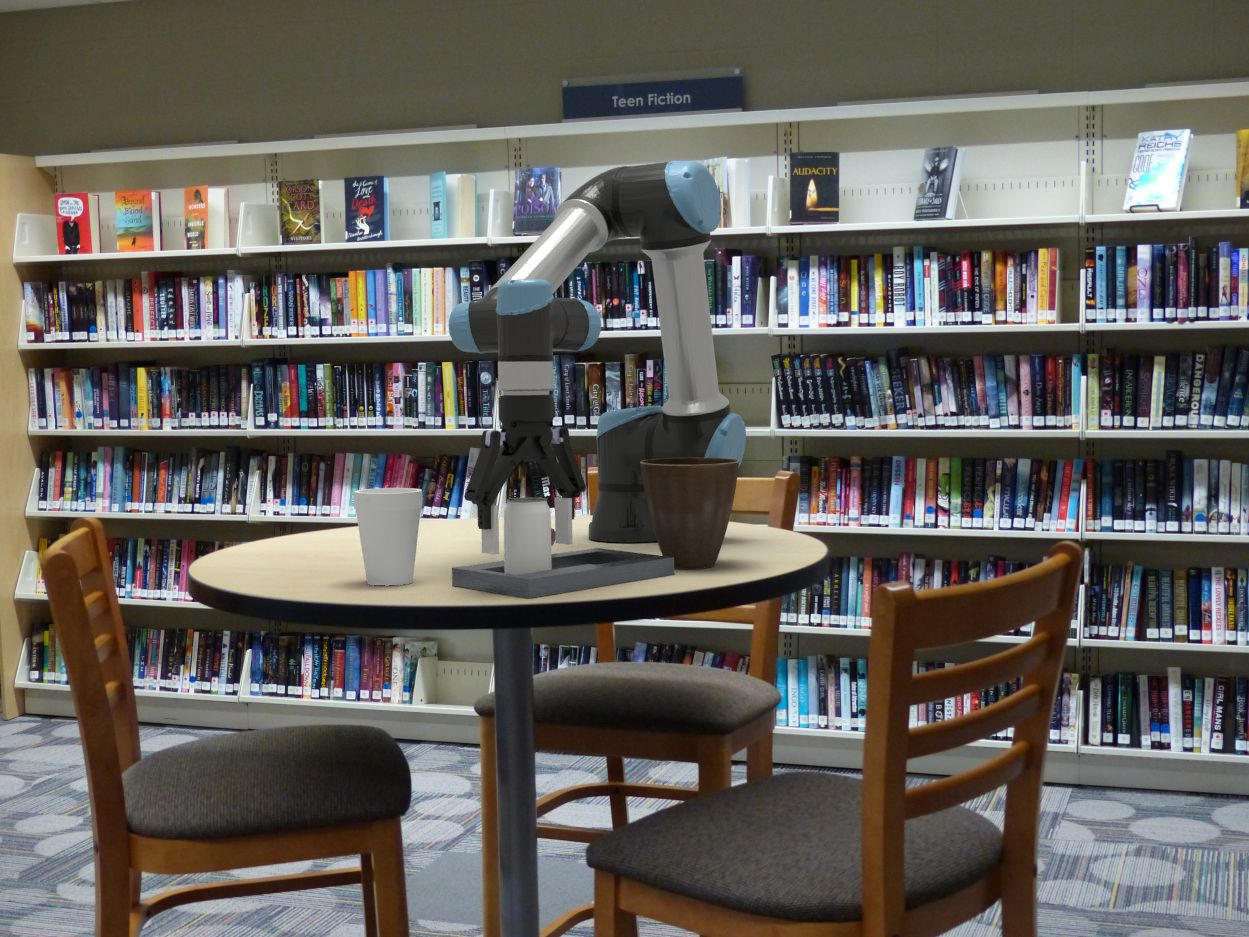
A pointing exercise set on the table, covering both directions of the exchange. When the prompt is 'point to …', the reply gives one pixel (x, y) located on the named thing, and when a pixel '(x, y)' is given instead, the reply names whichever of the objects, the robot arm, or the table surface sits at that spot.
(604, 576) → the keyhole plate
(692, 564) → the plant pot
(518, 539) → the can
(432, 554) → the table surface
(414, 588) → the table surface
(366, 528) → the foam cup
